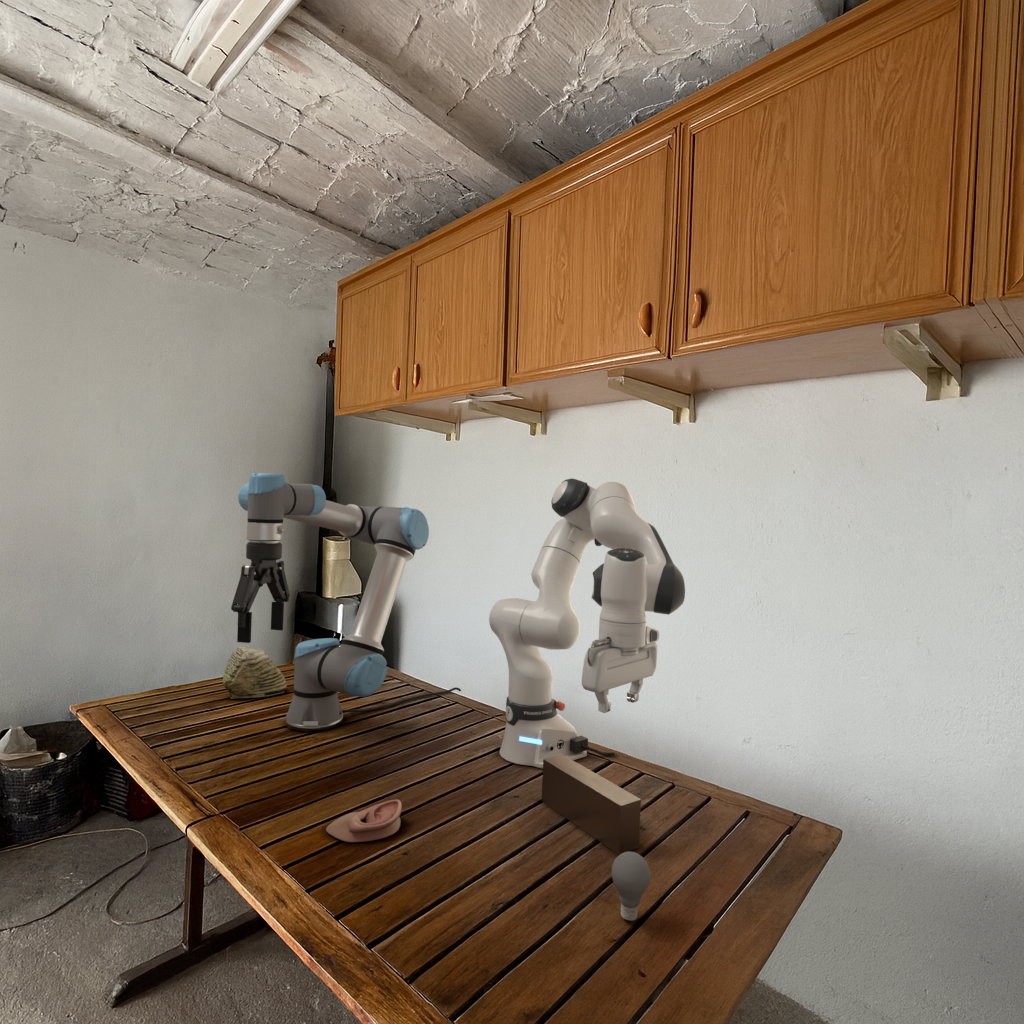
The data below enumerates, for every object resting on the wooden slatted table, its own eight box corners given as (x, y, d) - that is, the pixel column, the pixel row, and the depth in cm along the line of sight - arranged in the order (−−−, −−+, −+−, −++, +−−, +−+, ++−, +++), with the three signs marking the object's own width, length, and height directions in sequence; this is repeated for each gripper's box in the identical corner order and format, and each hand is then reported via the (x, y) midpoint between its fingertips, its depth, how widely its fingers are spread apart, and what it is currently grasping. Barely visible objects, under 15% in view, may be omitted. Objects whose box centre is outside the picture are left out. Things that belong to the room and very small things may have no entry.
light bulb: (605, 905, 101) (608, 843, 101) (642, 905, 102) (645, 843, 102) (614, 931, 95) (617, 865, 95) (653, 930, 96) (656, 865, 96)
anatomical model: (318, 816, 117) (346, 789, 129) (317, 837, 118) (346, 808, 129) (385, 827, 115) (408, 798, 126) (384, 848, 115) (407, 818, 126)
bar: (541, 801, 136) (543, 758, 136) (560, 795, 139) (562, 754, 139) (618, 855, 116) (621, 805, 116) (638, 847, 119) (641, 799, 119)
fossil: (218, 695, 195) (220, 647, 195) (278, 685, 208) (279, 640, 207) (228, 703, 189) (230, 653, 188) (289, 692, 201) (290, 645, 201)
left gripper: (248, 546, 129) (245, 649, 130) (306, 539, 154) (303, 626, 154) (215, 544, 130) (211, 646, 131) (277, 537, 155) (274, 624, 155)
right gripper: (603, 644, 111) (600, 723, 111) (664, 631, 126) (660, 700, 126) (575, 638, 116) (571, 713, 116) (636, 625, 130) (633, 692, 130)
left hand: (261, 635), depth 143 cm, fingers open, 13 cm apart
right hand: (618, 706), depth 121 cm, fingers open, 8 cm apart
